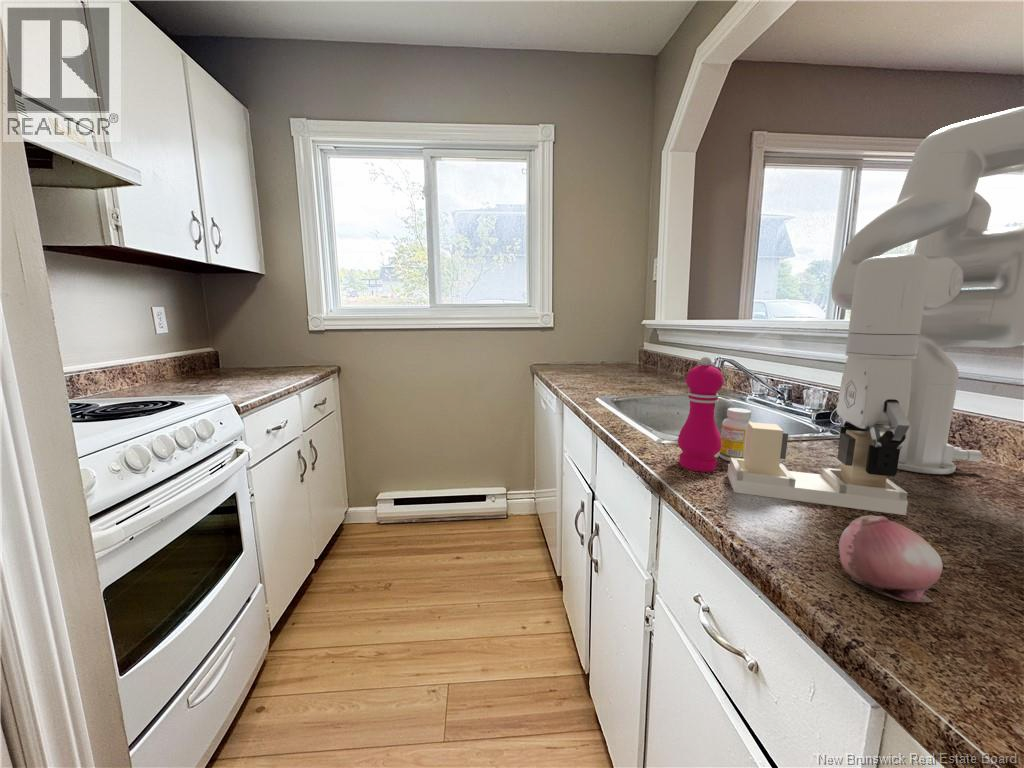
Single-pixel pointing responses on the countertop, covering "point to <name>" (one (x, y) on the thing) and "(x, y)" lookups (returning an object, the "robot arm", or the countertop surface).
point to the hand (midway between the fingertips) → (864, 462)
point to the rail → (802, 477)
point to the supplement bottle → (734, 433)
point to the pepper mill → (701, 419)
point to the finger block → (857, 459)
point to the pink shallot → (889, 558)
